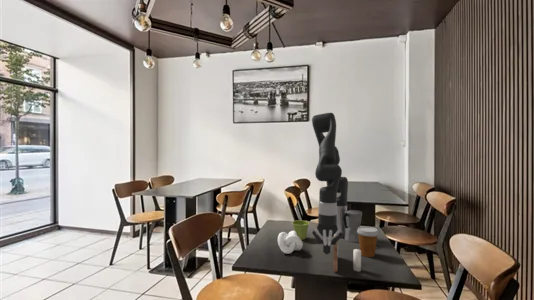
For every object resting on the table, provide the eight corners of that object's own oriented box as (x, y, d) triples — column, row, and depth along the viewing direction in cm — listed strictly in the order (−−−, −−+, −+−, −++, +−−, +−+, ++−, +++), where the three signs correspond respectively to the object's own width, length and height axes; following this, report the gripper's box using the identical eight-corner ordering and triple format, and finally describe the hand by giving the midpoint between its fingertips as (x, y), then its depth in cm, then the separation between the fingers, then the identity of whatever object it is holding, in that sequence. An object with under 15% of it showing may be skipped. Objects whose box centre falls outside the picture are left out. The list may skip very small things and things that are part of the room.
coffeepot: (352, 235, 165) (353, 203, 164) (367, 239, 157) (368, 206, 157) (335, 241, 155) (336, 207, 155) (351, 245, 148) (351, 210, 147)
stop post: (351, 268, 121) (352, 249, 120) (358, 267, 121) (358, 248, 121) (355, 271, 118) (355, 252, 118) (362, 271, 118) (362, 251, 118)
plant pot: (310, 241, 155) (310, 225, 154) (292, 241, 155) (292, 224, 155) (308, 235, 164) (308, 220, 164) (291, 235, 164) (291, 220, 164)
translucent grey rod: (333, 256, 133) (333, 230, 133) (336, 256, 134) (336, 230, 133) (334, 258, 132) (335, 231, 131) (338, 257, 132) (338, 231, 132)
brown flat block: (334, 256, 132) (334, 235, 131) (337, 256, 131) (337, 235, 131) (333, 271, 116) (333, 247, 116) (337, 271, 116) (337, 247, 116)
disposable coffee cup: (364, 259, 130) (364, 232, 130) (352, 251, 139) (353, 227, 139) (382, 257, 133) (383, 231, 132) (370, 250, 142) (370, 225, 142)
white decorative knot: (286, 257, 132) (286, 238, 132) (271, 249, 142) (271, 231, 142) (305, 252, 138) (305, 234, 138) (289, 245, 148) (290, 228, 148)
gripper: (311, 213, 118) (310, 256, 118) (345, 215, 116) (344, 258, 116) (311, 209, 125) (310, 249, 126) (343, 211, 123) (342, 251, 124)
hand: (326, 253), depth 121 cm, fingers closed
